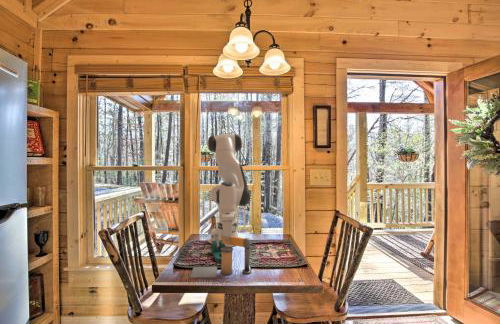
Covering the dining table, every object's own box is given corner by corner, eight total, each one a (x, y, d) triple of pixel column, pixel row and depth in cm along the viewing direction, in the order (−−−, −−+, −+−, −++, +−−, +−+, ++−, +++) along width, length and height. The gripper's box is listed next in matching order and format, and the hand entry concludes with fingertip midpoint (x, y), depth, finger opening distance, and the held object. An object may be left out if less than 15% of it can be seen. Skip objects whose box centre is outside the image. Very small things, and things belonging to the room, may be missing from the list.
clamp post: (240, 272, 140) (240, 247, 140) (247, 269, 143) (247, 245, 143) (246, 274, 137) (246, 249, 137) (253, 272, 140) (253, 247, 140)
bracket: (211, 252, 169) (211, 239, 169) (222, 251, 171) (222, 238, 171) (216, 263, 152) (216, 248, 152) (228, 262, 154) (228, 247, 153)
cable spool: (218, 272, 139) (218, 248, 139) (227, 269, 144) (227, 245, 143) (225, 276, 135) (225, 251, 135) (235, 272, 139) (235, 248, 139)
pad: (190, 278, 132) (190, 277, 132) (193, 268, 144) (193, 267, 144) (215, 278, 133) (215, 276, 133) (217, 267, 145) (217, 266, 145)
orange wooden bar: (251, 246, 140) (251, 238, 140) (248, 248, 138) (248, 240, 137) (224, 242, 147) (224, 234, 147) (221, 243, 145) (221, 236, 144)
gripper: (222, 211, 153) (221, 236, 153) (220, 217, 132) (220, 247, 132) (233, 211, 153) (233, 236, 153) (234, 217, 133) (233, 247, 133)
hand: (227, 241), depth 142 cm, fingers closed
